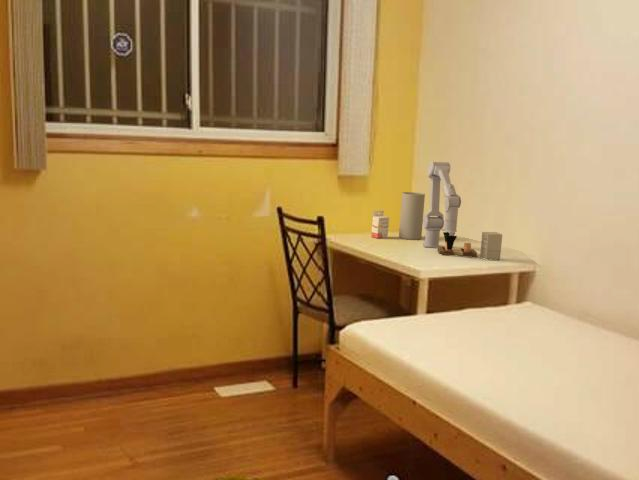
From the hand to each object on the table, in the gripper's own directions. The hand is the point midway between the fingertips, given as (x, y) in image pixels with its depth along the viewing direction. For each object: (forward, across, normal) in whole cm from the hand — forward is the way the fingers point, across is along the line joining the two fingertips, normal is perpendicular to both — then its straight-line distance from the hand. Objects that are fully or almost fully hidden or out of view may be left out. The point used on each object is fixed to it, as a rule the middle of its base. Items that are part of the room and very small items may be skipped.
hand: (448, 248), depth 331 cm
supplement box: (+3, +4, +20) cm, 20 cm away
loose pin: (+3, 0, 0) cm, 3 cm away
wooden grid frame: (+3, -3, +4) cm, 6 cm away
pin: (+3, 0, +9) cm, 10 cm away
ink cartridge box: (+3, -40, -34) cm, 52 cm away
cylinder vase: (+3, -46, -16) cm, 49 cm away
